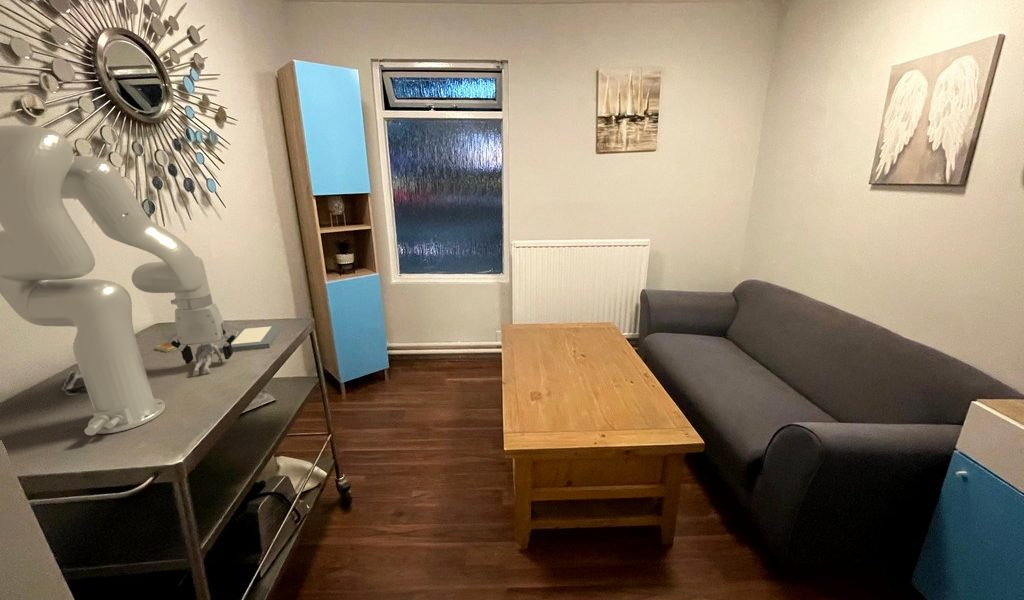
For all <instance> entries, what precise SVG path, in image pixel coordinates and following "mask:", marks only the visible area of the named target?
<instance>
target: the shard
mask: <svg viewBox="0 0 1024 600" xmlns="http://www.w3.org/2000/svg"><path fill="white" fill-rule="evenodd" d="M176 340H178V338H176ZM154 348H155V350H157V351H161V352H166V353H168V351H169V352H172V351H177V350H178V348H176V347H174V346H172V345H171V343H170V342H169V341H167V342H164V343H161V344H158V345H156V347H154ZM176 349H177V350H176ZM171 350H172V351H171Z"/></svg>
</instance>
